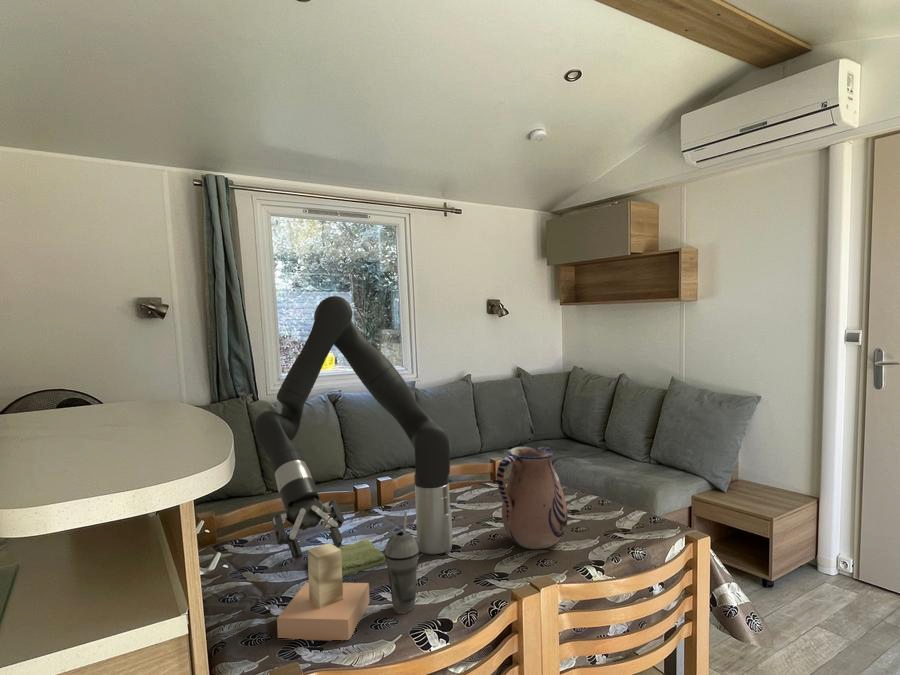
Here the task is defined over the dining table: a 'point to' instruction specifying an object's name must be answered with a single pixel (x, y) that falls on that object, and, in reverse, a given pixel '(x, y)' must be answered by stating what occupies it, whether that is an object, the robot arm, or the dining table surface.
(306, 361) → the robot arm
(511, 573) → the dining table surface
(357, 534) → the dining table surface
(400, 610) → the beverage cup
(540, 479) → the ceramic pitcher
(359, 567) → the washcloth
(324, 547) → the birch block
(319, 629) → the terracotta plinth
